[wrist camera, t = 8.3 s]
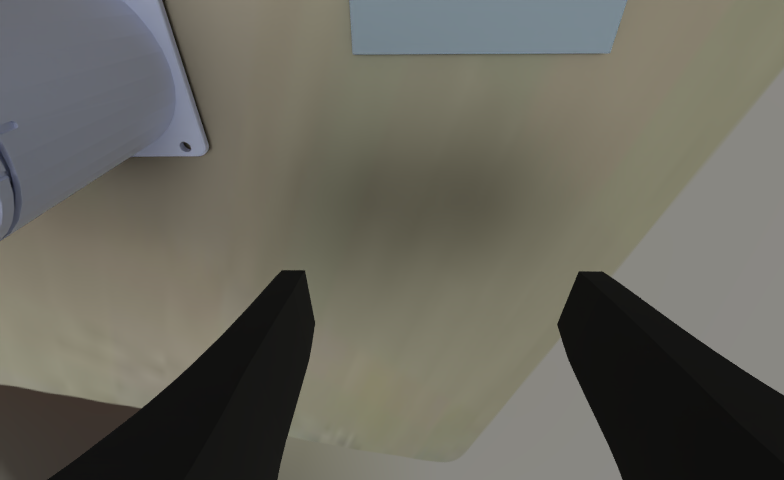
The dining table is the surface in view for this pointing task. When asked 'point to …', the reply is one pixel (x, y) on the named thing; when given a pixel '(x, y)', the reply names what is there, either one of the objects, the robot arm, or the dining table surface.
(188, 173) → the dining table surface
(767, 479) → the robot arm
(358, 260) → the dining table surface
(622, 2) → the mat
